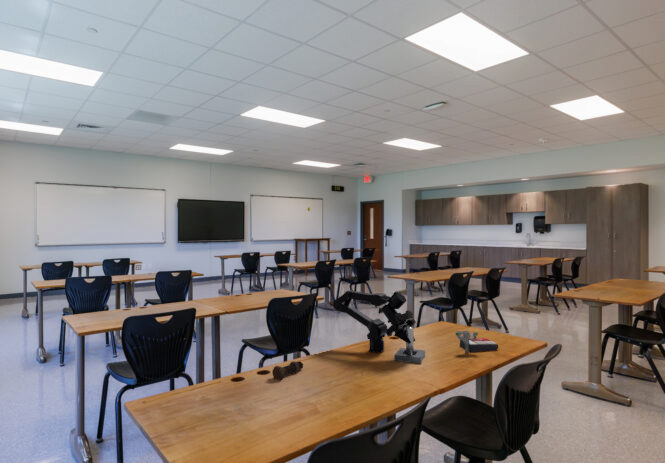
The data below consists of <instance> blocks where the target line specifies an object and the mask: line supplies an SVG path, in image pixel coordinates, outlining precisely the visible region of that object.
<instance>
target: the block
mask: <svg viewBox="0 0 665 463" xmlns="http://www.w3.org/2000/svg"><path fill="white" fill-rule="evenodd" d="M425 357H426V350H425V349H417V348H416V349H415V348H414V355H409V354H406V347H405V348H404V347H400V348H399V349H398V350H397V351H396V352H395V354H394V357H393V358H394V361H396V362H397V361H398V362H404V363H413V364H422V362H423V360H424V359H425Z"/></svg>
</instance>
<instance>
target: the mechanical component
mask: <svg viewBox="0 0 665 463" xmlns="http://www.w3.org/2000/svg"><path fill="white" fill-rule="evenodd" d="M454 333H455V336H456V338H457V339H458V340H459V341H460V340H464V343H465V349H464V351H465V353H467V354H469V351H468V344H469V340H476V338H477V336H478V332H477V331H472V334H471V332H470V331H469V330H457V331H456V332H454ZM461 335H462V336H461Z"/></svg>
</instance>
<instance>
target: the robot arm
mask: <svg viewBox="0 0 665 463" xmlns="http://www.w3.org/2000/svg"><path fill="white" fill-rule="evenodd" d="M352 300H355V301H361V302H367V303H369V304H370V305H372V306H375V307H379V308H378V312H377V313H378V314H379V315H380V314H383V315H384V316H385V318H386V319H387V324H391V325H390V326H389V327H388V325H387V324H386V323H385V321H382V320H381V319H380V318H376V319H372V318H371V317H369V316H368V315H367V314H365V313H363V312H362V311H361V310H358V309H357V308H356V307H354V306H353V305H352V304H351V302H352ZM406 302H407V298H406V296H405V295H403V294H402V293H400V292H399V291H396V290H395V291H394V292H393V293H392V295H391V296H388V295H387V294H386V293H385V292H381V293H378V292H377V293H367V292H364V291H355V290H352V289H351V290H347V291H345V292H344V293H343V294H342V295H341V296H339V297H337V298H336V299H334V300H333V302H332V307H333V309H334V310H335V311H338V312H340V313H344V314H346V315H348V316H350V317H351V318H352V319H354V320H356V321H357V322H359V323H361V325H363V326H364V327H366V328H367V330H368V333H367V334H366V336H367V337H366V338H367V340H369V349H368V352H370V351H374V352H373V353H382V352H383V351H384V350H385V340H384V338H385V337H386V336H387V337H391V336H394V337H396V338H398V339H399V340H401V341H404V342H405V343H406V342H407V343H409V344H410V343H411V341H410V339H409V338H408V336H407V335H406V327H413V326H415V325H416V323H417V321H416V320H415V319H414V312H413V311H412V310H411V309H407V310H406V311H405V312H403V313H402V312H398V311H397V310H399V309H400V308H402V306H403V305H404V304H405V303H406ZM393 333H394V334H393ZM414 342H416V338H415V337H414Z"/></svg>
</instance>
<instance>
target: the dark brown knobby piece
mask: <svg viewBox="0 0 665 463" xmlns="http://www.w3.org/2000/svg"><path fill="white" fill-rule="evenodd" d="M303 368H304V363H303V362H301V361H294V360H293V361H291V362H290V363H289V364H288V365H286V366H283V367H282V366H279V365H276V366H274V367H273V369H272V377H273V379H274V380H277V381H281V380H283V378H284V376H286V375H289V374H290V373H291V374H297V373H298V372H299V370H302V369H303Z"/></svg>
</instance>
